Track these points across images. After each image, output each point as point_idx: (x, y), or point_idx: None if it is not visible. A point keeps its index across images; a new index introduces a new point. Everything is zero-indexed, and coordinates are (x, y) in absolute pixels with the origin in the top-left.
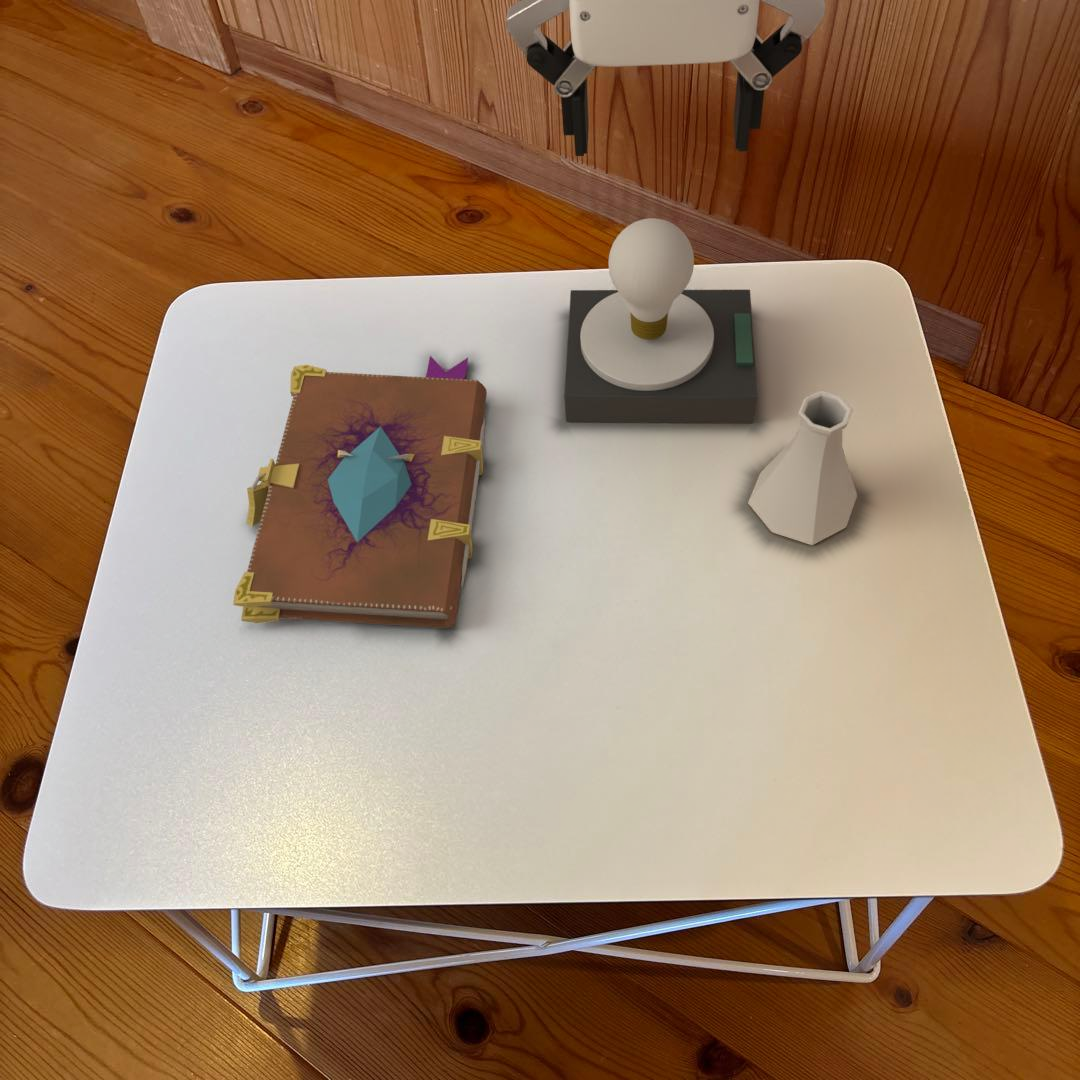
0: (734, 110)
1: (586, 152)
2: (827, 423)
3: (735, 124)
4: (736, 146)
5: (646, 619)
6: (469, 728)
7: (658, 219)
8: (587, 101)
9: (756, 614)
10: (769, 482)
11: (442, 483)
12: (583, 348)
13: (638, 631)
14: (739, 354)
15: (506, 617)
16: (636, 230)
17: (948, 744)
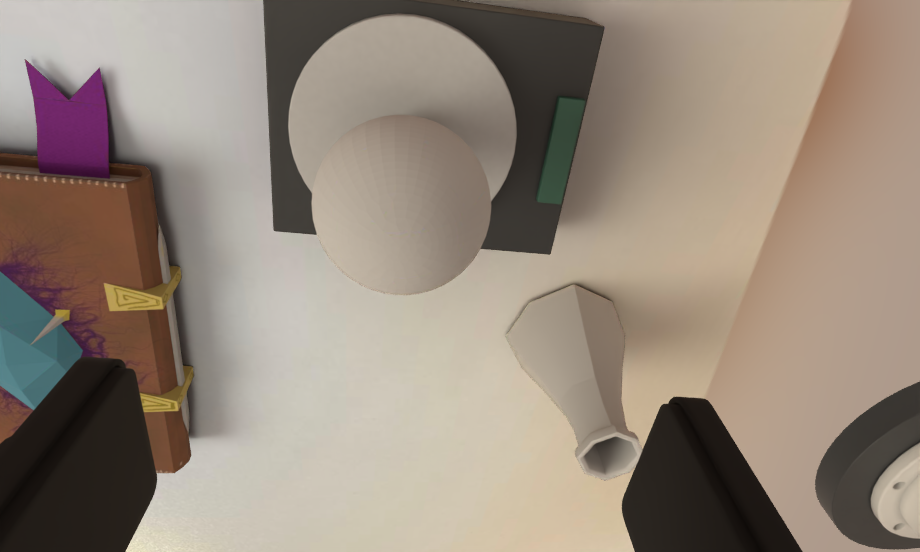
0: (680, 434)
1: (152, 496)
2: (613, 401)
3: (654, 494)
4: (626, 522)
5: (383, 433)
6: (227, 504)
7: (419, 199)
8: (74, 449)
9: (486, 432)
10: (530, 368)
11: (125, 348)
12: (295, 161)
13: (375, 442)
14: (545, 188)
15: (244, 428)
16: (363, 240)
17: (604, 515)
